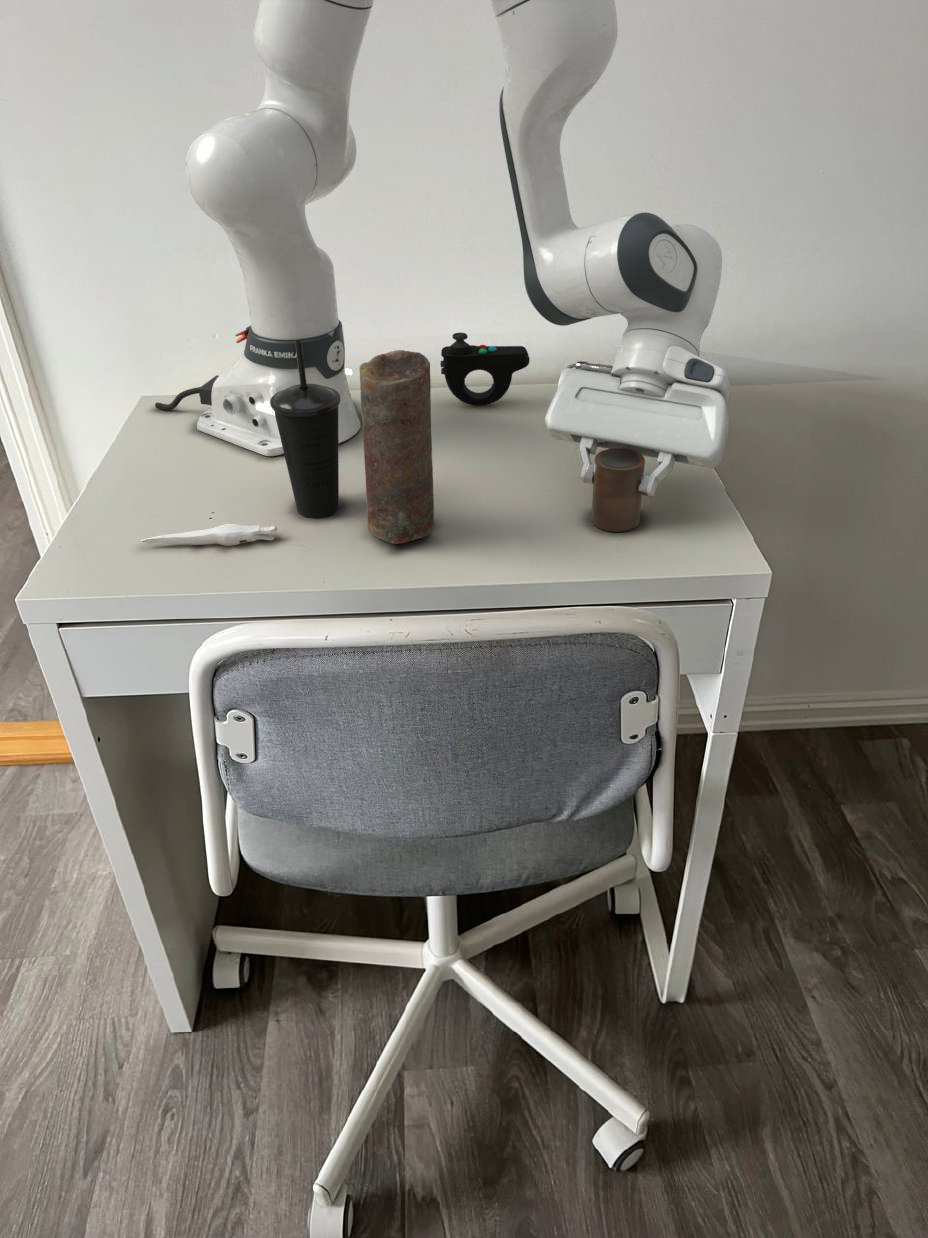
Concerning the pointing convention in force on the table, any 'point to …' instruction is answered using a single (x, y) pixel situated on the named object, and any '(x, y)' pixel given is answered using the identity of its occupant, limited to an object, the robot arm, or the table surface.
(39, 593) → the table surface
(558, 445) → the table surface
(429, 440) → the brown stone cylinder
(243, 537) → the white toy lizard
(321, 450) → the drinking cup
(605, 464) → the pencil cup
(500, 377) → the controller
